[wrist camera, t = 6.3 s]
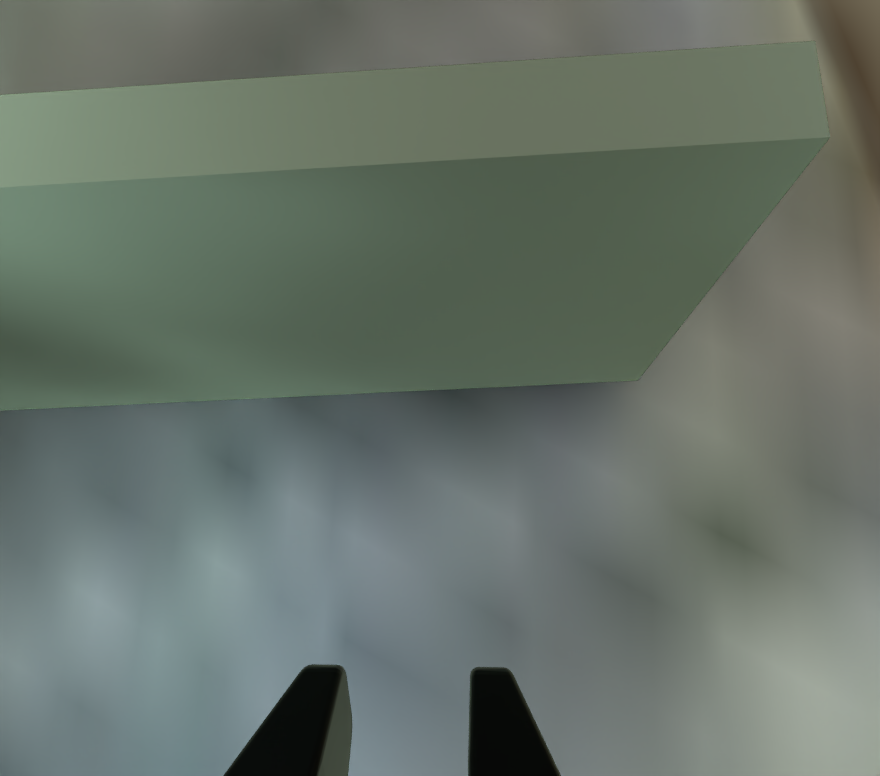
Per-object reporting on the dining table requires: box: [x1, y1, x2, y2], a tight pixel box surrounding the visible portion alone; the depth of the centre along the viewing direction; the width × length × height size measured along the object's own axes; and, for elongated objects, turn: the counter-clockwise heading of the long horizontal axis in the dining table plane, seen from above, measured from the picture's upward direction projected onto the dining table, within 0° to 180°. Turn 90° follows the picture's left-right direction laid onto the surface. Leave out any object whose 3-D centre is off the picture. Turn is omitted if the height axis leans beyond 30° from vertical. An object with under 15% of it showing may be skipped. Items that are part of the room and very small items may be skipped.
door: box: [0, 41, 830, 411], centre depth 12 cm, size 13×2×9 cm, turn 92°
